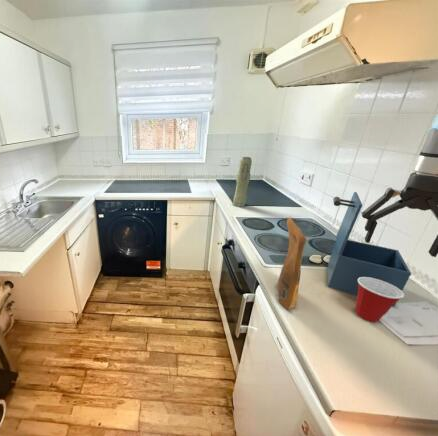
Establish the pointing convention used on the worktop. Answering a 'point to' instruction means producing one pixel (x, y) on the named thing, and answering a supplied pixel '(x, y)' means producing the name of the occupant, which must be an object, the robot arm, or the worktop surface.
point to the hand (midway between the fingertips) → (397, 247)
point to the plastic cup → (375, 298)
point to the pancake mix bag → (291, 267)
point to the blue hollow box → (365, 266)
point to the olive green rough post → (242, 182)
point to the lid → (347, 219)
